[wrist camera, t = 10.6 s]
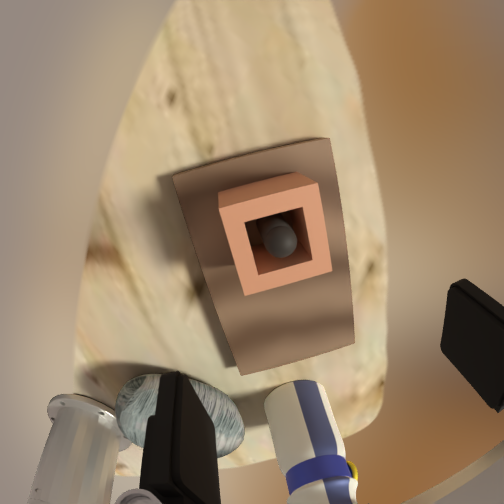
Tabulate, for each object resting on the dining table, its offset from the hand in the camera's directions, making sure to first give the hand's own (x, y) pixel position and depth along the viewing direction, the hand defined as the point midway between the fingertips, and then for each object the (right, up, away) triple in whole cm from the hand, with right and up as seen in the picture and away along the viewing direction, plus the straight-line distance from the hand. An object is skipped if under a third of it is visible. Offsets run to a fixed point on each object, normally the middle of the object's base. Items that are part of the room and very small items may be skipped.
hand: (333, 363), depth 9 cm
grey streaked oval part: (-10, -12, +22) cm, 27 cm away
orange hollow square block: (-1, +6, +14) cm, 15 cm away
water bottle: (+3, -14, +25) cm, 29 cm away
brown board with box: (0, +2, +17) cm, 18 cm away
